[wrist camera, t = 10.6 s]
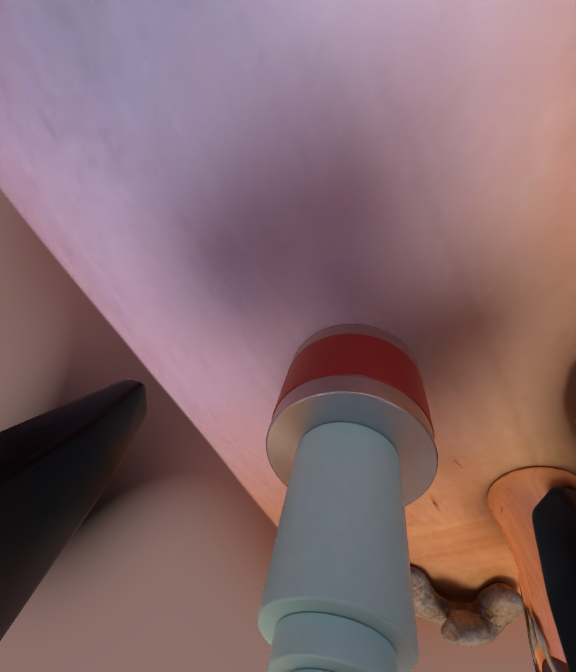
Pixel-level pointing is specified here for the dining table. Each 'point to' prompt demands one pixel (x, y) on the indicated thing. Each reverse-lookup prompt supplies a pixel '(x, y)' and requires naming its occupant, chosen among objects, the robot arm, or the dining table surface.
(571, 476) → the beer glass
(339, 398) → the tin
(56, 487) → the robot arm
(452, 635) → the rock
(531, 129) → the dining table surface
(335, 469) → the aqua bottle
